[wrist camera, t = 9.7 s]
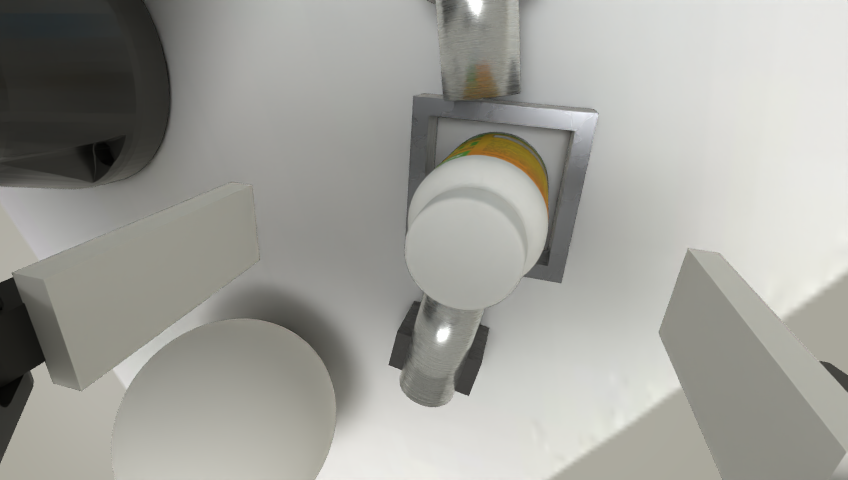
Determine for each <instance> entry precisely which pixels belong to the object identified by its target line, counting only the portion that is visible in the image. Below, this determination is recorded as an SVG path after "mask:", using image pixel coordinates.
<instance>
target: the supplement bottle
mask: <svg viewBox="0 0 848 480" xmlns="http://www.w3.org/2000/svg"><path fill="white" fill-rule="evenodd" d="M548 220H549V215H548V176H547V171H546V168H545V165H544V162H543V160H542V159H541V157H540V155H539V154H538V153H537V151H536V150H535V149H534V148H533V147H532V146H531V145H530V144H528V143H527V142H526V141H524V140H523V139H521V138H519V137H517V136H514V135H511V134H508V133H501V132H489V133H483V134H480V135H477V136H474V137H472V138H470V139H468V140H467V141H465V142H464V143H462V144H461V145H460V146H459V147H457V148H456V149H455V150H454V151H453V152H452V153H451V154H450V155H449V156H448V157H447V158H446V159H445V160H444V161H443V162H442V163H440V164H439V165H438V166H437V167H436V168H435V169H434V170H433V171H432V172H431V173H430V174H429V175H428V176H427V177H426V178H425V179H424V180H423V181H422V183H421V184H420V185H419V187H418V188H417V190H416V192H415V193H414V196H413V198H412V201H411V204H410V207H409V213H408V232H407V235H406V239H405V247H404V248H405V259H406V264H407V267H408V270H409V272H410V274H411V276H412V278H413V279H414V281H415V282H416V284H417V285H418V286H419V288H420V289H421V290H422V291H423V292H424V293H426V294H427V295H428V296H429V297H431V298H432V299H434V300H435V301H437V302H439V303H441V304H443V305H446V306H448V307H452V308H456V309H463V310H477V309H483V308H487V307H490V306H493V305H495V304H497V303H499V302H500V301H502V300H503V299H505V298H506V297H507V296H508V295H510V294H511V293H512V291H513V290H514V289H515V288H516V286H517V285H518V283H519V282H520V280H521V277H523V276H524V275H525V274H526V273H527V272H528V271H529V270H530V269H531V268H532V267H533V266H534V265H535V263H536V262H537V260H538V259H539V257H540V255H541V253H542V251H543V249H544V246H545V242H546V238H547V232H548Z"/></svg>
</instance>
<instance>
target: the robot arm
mask: <svg viewBox="0 0 848 480" xmlns="http://www.w3.org/2000/svg"><path fill="white" fill-rule="evenodd" d="M168 110H169V86H168V76H167V69H166V64H165V59H164V55H163V51H162V47H161V44H160V41H159V38H158V35H157V32H156V29H155V27H154V24H153V22H152V19H151V17H150V15H149V13H148V11H147V9H146V7H145V5H144V3H143V1H142V0H0V186H4V187H29V188H53V189H84V188H91V187H96V186H99V185H103V184H107V183H110V182H114V181H118V180H121V179H125V178H127V177H130V176H132V175H134V174H135V173H137V172H138V171H140V170H141V169H142V168H143V167H144V166H146V165H147V163H148V162H149V161H150V160H151V159H152V157H153V156H154V154H155V153H156V151H157V149H158V147H159V145H160V143H161V141H162V138H163V135H164V132H165V128H166V124H167V118H168ZM259 260H260V256H259V247H258V237H257V227H256V218H255V208H254V198H253V189H252V185H249V184H242V183H235V182H230V183H228V184H225V185H223V186H220V187H218V188H216V189H213V190H211V191H208V192H206V193H203V194H201V195H199V196H196V197H194V198H191V199H189V200H186V201H184V202H182V203H179V204H177V205H174V206H172V207H170V208H167V209H165V210H162V211H160V212H157V213H155V214H153V215H150V216H148V217H145V218H143V219H140V220H138V221H136V222H133V223H131V224H128V225H126V226H124V227H121V228H119V229H116V230H114V231H111V232H109V233H107V234H104V235H102V236H99V237H97V238H94V239H92V240H90V241H87V242H85V243H82V244H80V245H78V246H75V247H73V248H70V249H68V250H65V251H63V252H61V253H58V254H56V255H53V256H51V257H48V258H46V259H44V260H41V261H39V262H36V263H34V264H32V265H29V266H27V267H25V268H22V269H19V270H17V271H15V272H12V275H13V277H12V278H10V279H8V280H5V281H3V282H1V283H0V463H1V460H2V458H3V456H4V453H5V451H6V449H7V446H8V444H9V442H10V439H11V437H12V435H13V432H14V430H15V428H16V425H17V423H18V421H19V418H20V416H21V414H22V411H23V409H24V406H25V405H26V402H27V400H28V397H29V395H30V393H31V390H32V388H33V382H34V380H33V377H32V374H31V372H30V370H31V369H33V368H35V367H36V366H38V365H40V364H41V363H43V362H44V361H45V363H46V366H47V368H48V371H49V374H50V377H51V379H52V382H53V383H54V384H57V385H61V386H65V387H68V388H72V389H75V390H79V391H83V390H84V389H85V388H87V387H88V386H89V385H91V384H92V383H93V382H95V381H96V380H98V379H99V378H100V377H102V376H103V375H104V374H106V373H107V372H108V371H110V370H111V369H113V368H114V367H115V366H117V365H118V364H119V363H121V362H122V361H123V360H125V359H126V358H127V357H129V356H130V355H132V354H133V353H134V352H136V351H137V350H138V349H140V348H141V347H142V346H144V345H145V344H146V343H148V342H149V341H151V340H152V339H153V338H155V337H156V336H157V335H159V334H160V333H161V332H163V331H164V330H165V329H167V328H168V327H170V326H171V325H172V324H174V323H175V322H176V321H178V320H179V319H180V318H182V317H183V316H185V315H186V314H187V313H189V312H190V311H191V310H193V309H194V308H195V307H197V306H198V305H199V304H201V303H202V302H204V301H205V300H206V299H208V298H209V297H210V296H212V295H213V294H214V293H216V292H217V291H218V290H220V289H221V288H223V287H224V286H225V285H227V284H228V283H229V282H231V281H232V280H233V279H235V278H236V277H237V276H239V275H240V274H242V273H243V272H244V271H246V270H247V269H248V268H250V267H251V266H252V265H254V264H255V263H257V262H258V261H259ZM659 335H660V337H661V340H662V342H663V344H664V347H665V349H666V351H667V353H668V356H669V358H670V360H671V363H672V365H673V367H674V370H675V372H676V374H677V376H678V379H679V381H680V383H681V386H682V388H683V390H684V392H685V395H686V397H687V399H688V402H689V404H690V406H691V408H692V411H693V413H694V415H695V418H696V420H697V422H698V425H699V427H700V429H701V431H702V434H703V436H704V439H705V441H706V443H707V445H708V448H709V450H710V452H711V455H712V457H713V459H714V461H715V464H716V466H717V468H718V471H719V473H720V475H721V478H722V480H848V375H847V374H845V373H843V372H842V371H841V370H839V369H838V368H836V367H835V366H833V365H832V364H830V363H827V362H822V361H818V360H817V359H816V358H815V356H814V355H813V354H812V353H811V352H810V351H809V350H808V349H807V348H806V347H805V346H804V345H803V343H801V341H800V340H799V339H798V338H797V337H796V336H795V335H794V334H793V333H792V332H791V330H790V329H789V328H788V327H787V326H786V325H785V324H784V323H783V322H782V321H781V319H780V318H779V317H778V316H777V315H776V314H775V313H774V312H773V311H772V310H771V309H770V307H769V306H768V305H767V304H766V303H765V302H764V301H763V300H762V299H761V298H760V297H759V296H758V294H757V293H756V292H755V291H754V290H753V289H752V288H751V287H750V286H749V285H748V284H747V282H746V281H745V280H744V279H743V278H742V277H741V276H740V275H739V274H738V273H737V272H736V270H735V269H734V268H733V267H732V266H731V265H730V264H729V263H728V262H727V261H726V260H725V259H724V257H723V256H722V255H721V254H720V253H716V252H710V251H703V250H696V249H689V248H688V250H687V253H686V256H685V258H684V261H683V264H682V267H681V270H680V273H679V275H678V278H677V281H676V284H675V287H674V290H673V293H672V295H671V298H670V301H669V304H668V307H667V310H666V313H665V315H664V318H663V321H662V324H661V327H660V330H659Z"/></svg>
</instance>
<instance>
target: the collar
mask: <svg viewBox="0 0 848 480" xmlns="http://www.w3.org/2000/svg"><path fill="white" fill-rule="evenodd" d="M598 115H599V113H598V112H597V111H596V110H594V109H586V108H575V107H565V106H554V105H544V104H533V103H522V102H512V101H501V100H490V99H471V100H456V101H444V99H443V95H437V94H426V93H424V94H419V95H415V96H413V113H412V131H411V149H410V166H409V184H408V202H407V220H406V235H407V232H408V213H409V207H410V204H411V201H412V198H413V196H414V193H415V192H416V190H417V188H418V187H419V185H420V184H421V183H422V181H423V180H424V179H425V178H426V177H427V176H428V175H429V174H430V173H431V172H432V171H433V170H434V162H435V149H436V136H437V124H438V116H439V117H448V118H458V119H467V120H477V121H486V122H496V123H506V124H515V125H525V126H534V127H544V128H553V129H563V130H572V132H571V137H570V142H569V147H568V152H567V157H566V162H565V167H564V172H563V177H562V181H561V186H560V191H559V196H558V201H557V206H556V211H555V216H554V221H553V226H552V231H551V236H550V241H549V246H548V250H543V251H542V253H541V255H540V257H539V259H538V260H537V262H536V263H535V265H534V266H533V267H532V268H531V269H530V270H529V271H528V272H527V273H526V274H525V275H524V277H530V278H535V279H541V280H547V281H552V282H558V283H561V282H562V277H563V273H564V268H565V264H566V259H567V255H568V250H569V246H570V241H571V237H572V232H573V228H574V223H575V219H576V214H577V210H578V205H579V201H580V196H581V192H582V187H583V183H584V178H585V174H586V169H587V165H588V160H589V156H590V151H591V147H592V142H593V138H594V133H595V129H596V124H597V120H598ZM405 239H406V238H405Z"/></svg>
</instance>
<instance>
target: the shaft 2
mask: <svg viewBox="0 0 848 480" xmlns="http://www.w3.org/2000/svg"><path fill="white" fill-rule="evenodd" d="M484 310H485V308H483V309H477V310H463V309H456V308H452V307H448V306H446V305H443V304H441V303H439V302H437V301H435V300H434V299H432V298H431V297H429V296H428V295H427V294H426V293H424V294H423V298H422V301H421V303H418V302H416V301H414V303H413V305H412V307H411V308H410V310H409V312H408V314H407V315H406V317H405V319H404V321H403V323H402V324H401V326H400V328H399V330H398V332H397V335H396V339H395V343H394V346H393V350H392V354H391V358H390V361H389V365H390V366H393V367H395V368H398V369H400V370H402V371H401V375H400V386H401V389H402V390H403V392H404V393H405V394H406V396H407V397H409V398H410V399H411V400H412V401H414V402H416V403H418V404H420V405H423V406H428V407H438V406H442V405H445V404H446V403H448V402H449V401H450V400H451V399H452V397H453V395H454V392H455V391H457V392H460V393H463V394H465V395H468V396H469V394H470V392H471V389H472V386H473V384H474V381H475V379H476V376H477V374H478V371H479V368H480V366H481V363H482V359H483V354H484V349H485V345H486V340H487V335H488V331H489V328H487V327H485V326H482V325H479V324H480V321H481V318H482V315H483V313H484Z"/></svg>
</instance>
